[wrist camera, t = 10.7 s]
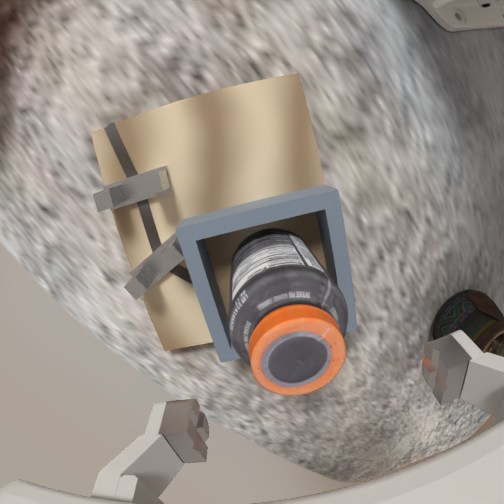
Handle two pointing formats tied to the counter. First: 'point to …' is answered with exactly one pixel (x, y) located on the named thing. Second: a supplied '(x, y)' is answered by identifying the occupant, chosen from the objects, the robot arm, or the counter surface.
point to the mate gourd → (472, 320)
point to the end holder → (254, 214)
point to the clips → (134, 192)
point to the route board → (210, 183)
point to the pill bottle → (285, 313)
